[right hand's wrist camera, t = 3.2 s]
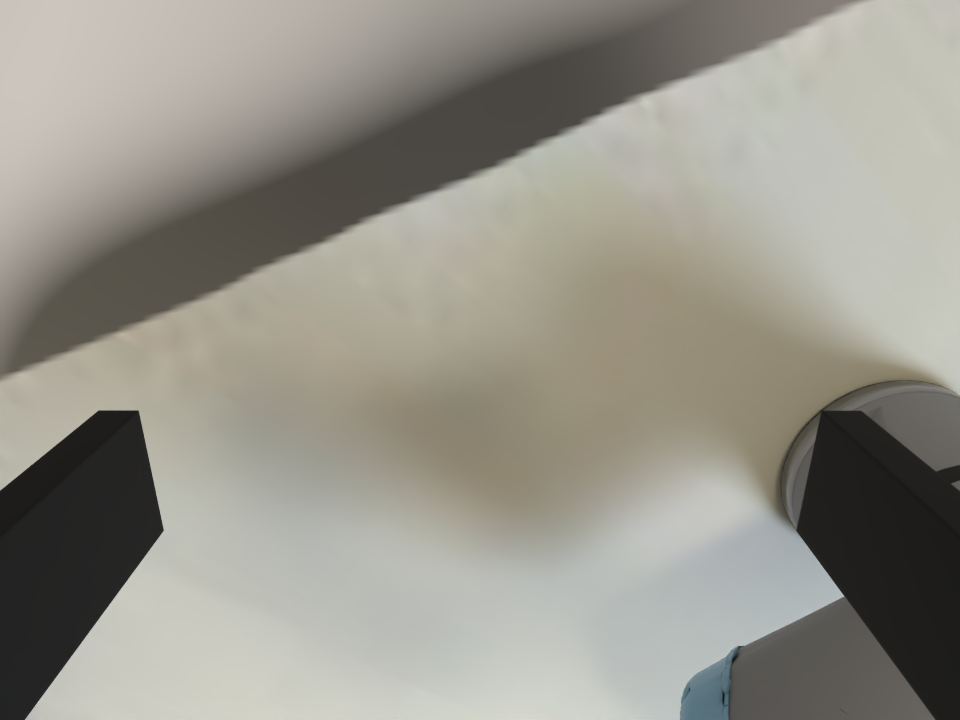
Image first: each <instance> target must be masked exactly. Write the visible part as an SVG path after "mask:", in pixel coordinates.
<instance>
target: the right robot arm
mask: <svg viewBox="0 0 960 720" xmlns="http://www.w3.org/2000/svg"><path fill="white" fill-rule="evenodd" d="M781 494H782V500H783V504H784V507H785V510H786V512H787V515H788V517H789V518H790V520H791V522H792V523H793V525H794V526H795V527H796V531H797V532H798V534H799V535H800V536H801V538H802V539H803V540H804V542H805V543H806V544H807V546H808V547H809V549H810V550H811V551H812V553H813V554H814V555H815V557H816V558H817V559H818V561H819V562H820V563H821V565H822V566H823V568H824V569H825V570H826V572H827V573H828V574H829V576H830V577H831V578H832V580H833V581H834V583H835V584H836V585H837V587H838V588H839V589H840V591H841V592H842V593H843V595H844V596H845V597H843V598H841V599H839V600H837V601H835V602H833V603H831V604H829V605H827V606H825V607H823V608H821V609H819V610H817V611H815V612H813V613H811V614H809V615H807V616H805V617H803V618H802V619H800V620H797V621H795V622H793V623H791V624H789V625H787V626H785V627H783V628H781V629H779V630H777V631H775V632H773V633H771V634H769V635H767V636H764V637H762V638H760V639H758V640H756V641H754V642H752V643H750V644H748V645H746V646H738V647H735V648H734V649H733V650H731V652H730V653H729V654H728V655H727V657H725V658H723V659H722V660H720V661H718V662H717V663H715V664H713V665H711V666H710V667H708V668H706V669H704V670H703V671H701V672H699V673H697V674H696V675H695V676H693V677H692V678H691V679H690V680H689V682H688V683H687V685H686V687H685V689H684V692H683V696H682V699H681V711H680V720H960V396H959V395H957V394H955V393H953V392H952V391H950V390H948V389H946V388H943V387H941V386H938V385H935V384H931V383H926V382H921V381H891V382H885V383H879V384H876V385H872V386H868V387H865V388H862V389H860V390H857V391H855V392H853V393H850V394H848V395H846V396H844V397H843V398H841V399H839V400H837V401H836V402H834V403H833V404H831V405H830V406H828V407H827V408H826V409H824V410H823V411H821V412H820V413H819V414H818V415H817V416H816V417H815V418H814V419H813V420H812V421H811V422H810V423H809V424H808V425H807V426H806V427H805V428H804V430H803V431H802V432H801V433H800V435H799V436H798V438H797V439H796V441H795V442H794V444H793V446H792V448H791V450H790V451H789V454H788V456H787V459H786V462H785V465H784V468H783V473H782V481H781ZM163 531H164V529H163V525H162V520H161V515H160V510H159V506H158V501H157V496H156V491H155V487H154V482H153V477H152V472H151V467H150V463H149V458H148V453H147V448H146V444H145V439H144V434H143V429H142V425H141V420H140V415H139V411H98V412H96V413H95V414H94V415H93V416H92V417H90V418H89V419H88V420H87V421H85V422H84V423H83V424H82V425H80V426H79V427H78V428H77V429H76V430H74V431H73V432H72V433H71V434H69V435H68V436H67V437H66V438H64V439H63V440H62V441H61V442H60V443H58V444H57V445H56V446H55V447H53V448H52V449H51V450H50V451H49V452H47V453H46V454H45V455H44V456H42V457H41V458H40V459H39V460H37V461H36V462H35V463H34V464H33V465H31V466H30V467H29V468H28V469H26V470H25V471H24V472H23V473H22V474H20V475H19V476H18V477H17V478H15V479H14V480H13V481H12V482H10V483H9V484H8V485H7V486H6V487H4V488H3V489H2V490H1V491H0V720H25V719H26V717H27V716H28V715H29V713H30V712H31V710H32V709H33V708H34V706H35V705H36V704H37V702H38V701H39V700H40V698H41V697H42V696H43V694H44V693H45V691H46V690H47V689H48V687H49V686H50V685H51V683H52V682H53V681H54V679H55V678H56V676H57V675H58V674H59V672H60V671H61V670H62V668H63V667H64V666H65V664H66V663H67V661H68V660H69V659H70V657H71V656H72V655H73V653H74V652H75V651H76V649H77V648H78V647H79V645H80V644H81V642H82V641H83V640H84V638H85V637H86V636H87V634H88V633H89V632H90V630H91V629H92V627H93V626H94V625H95V623H96V622H97V621H98V619H99V618H100V617H101V615H102V614H103V612H104V611H105V610H106V608H107V607H108V606H109V604H110V603H111V602H112V600H113V599H114V598H115V596H116V595H117V593H118V592H119V591H120V589H121V588H122V587H123V585H124V584H125V583H126V581H127V580H128V578H129V577H130V576H131V574H132V573H133V572H134V570H135V569H136V568H137V566H138V565H139V563H140V562H141V561H142V559H143V558H144V557H145V555H146V554H147V553H148V551H149V550H150V549H151V547H152V546H153V544H154V543H155V542H156V540H157V539H158V538H159V536H160V535H161V534H162V532H163Z"/></svg>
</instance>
